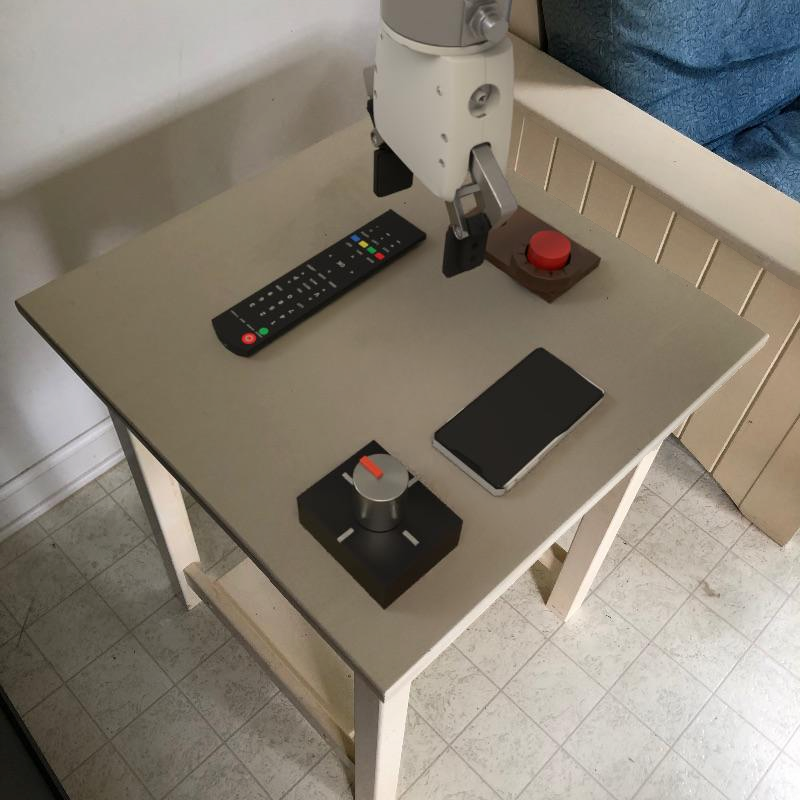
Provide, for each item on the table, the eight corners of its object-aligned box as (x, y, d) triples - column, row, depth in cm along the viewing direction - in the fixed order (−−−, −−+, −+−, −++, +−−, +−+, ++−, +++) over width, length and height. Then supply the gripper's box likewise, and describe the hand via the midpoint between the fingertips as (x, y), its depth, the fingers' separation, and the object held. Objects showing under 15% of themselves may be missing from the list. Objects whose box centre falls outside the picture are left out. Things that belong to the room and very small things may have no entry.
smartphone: (609, 393, 74) (501, 493, 67) (605, 401, 75) (499, 501, 68) (538, 344, 77) (429, 434, 70) (536, 352, 78) (427, 442, 71)
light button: (575, 258, 82) (579, 245, 81) (550, 277, 80) (553, 264, 79) (544, 238, 84) (547, 224, 82) (518, 256, 82) (521, 243, 81)
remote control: (425, 243, 86) (426, 233, 85) (243, 364, 75) (242, 354, 74) (390, 218, 88) (390, 208, 87) (208, 332, 78) (206, 322, 77)
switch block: (602, 268, 85) (609, 246, 83) (547, 311, 81) (553, 289, 79) (497, 200, 91) (500, 178, 89) (441, 237, 87) (443, 215, 85)
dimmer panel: (459, 544, 65) (464, 518, 62) (383, 611, 62) (384, 587, 58) (373, 465, 69) (374, 437, 66) (298, 523, 66) (294, 496, 63)
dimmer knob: (416, 509, 62) (420, 476, 59) (377, 542, 61) (379, 509, 57) (380, 476, 64) (382, 441, 60) (342, 506, 62) (341, 472, 58)
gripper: (592, 55, 44) (536, 285, 58) (423, -77, 53) (409, 150, 66) (475, 91, 41) (446, 323, 55) (318, -54, 50) (326, 177, 64)
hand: (426, 228), depth 61 cm, fingers open, 9 cm apart
